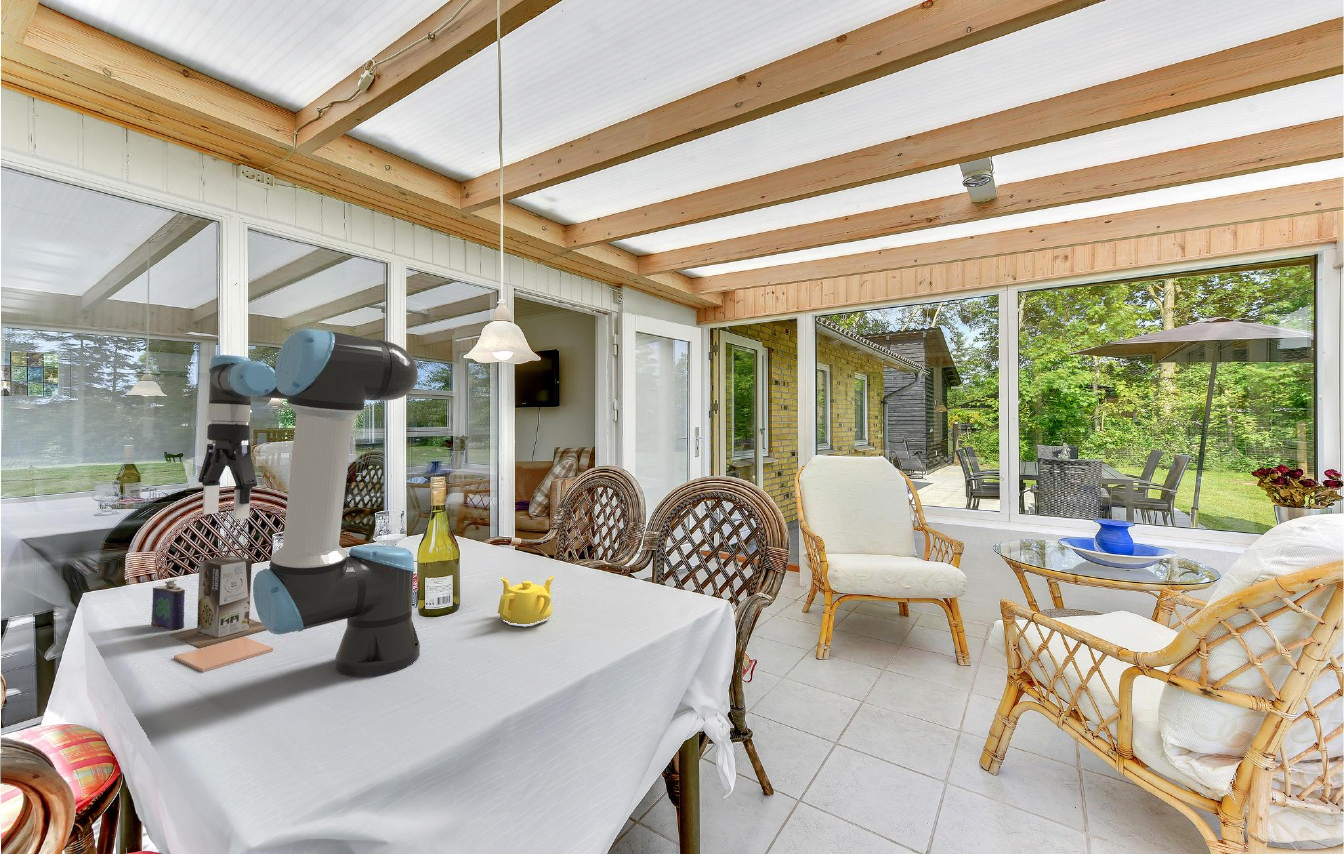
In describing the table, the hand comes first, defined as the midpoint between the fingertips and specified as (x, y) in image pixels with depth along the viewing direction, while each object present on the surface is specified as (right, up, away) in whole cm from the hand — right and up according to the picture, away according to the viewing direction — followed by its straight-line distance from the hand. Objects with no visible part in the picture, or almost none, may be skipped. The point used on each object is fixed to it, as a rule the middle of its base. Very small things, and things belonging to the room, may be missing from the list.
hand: (225, 516), depth 122 cm
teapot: (+65, -29, +13) cm, 72 cm away
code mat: (0, -26, 0) cm, 26 cm away
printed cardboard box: (0, -26, 0) cm, 26 cm away
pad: (+10, -26, -12) cm, 31 cm away
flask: (-15, -26, +2) cm, 30 cm away
